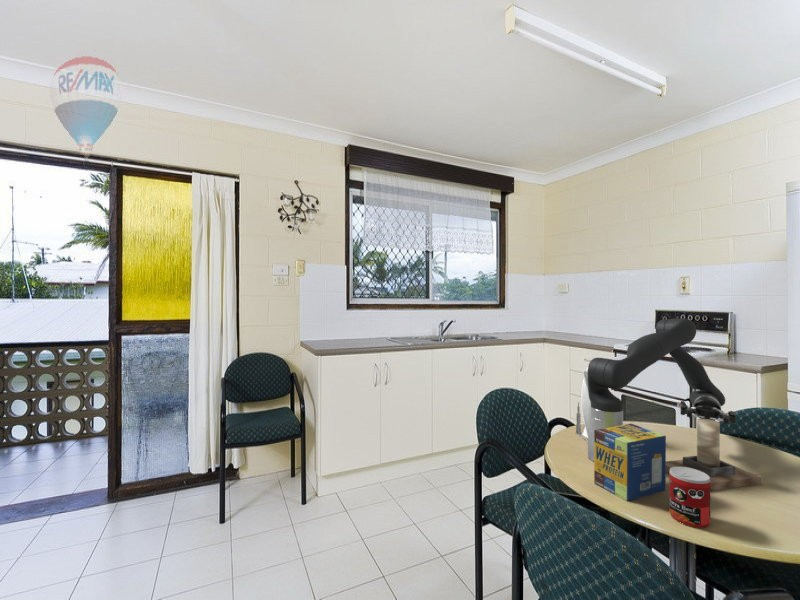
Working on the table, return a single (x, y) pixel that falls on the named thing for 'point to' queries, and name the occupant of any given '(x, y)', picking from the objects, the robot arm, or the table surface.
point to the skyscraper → (584, 409)
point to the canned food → (689, 496)
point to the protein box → (630, 461)
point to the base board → (719, 473)
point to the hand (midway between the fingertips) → (707, 418)
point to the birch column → (708, 443)
